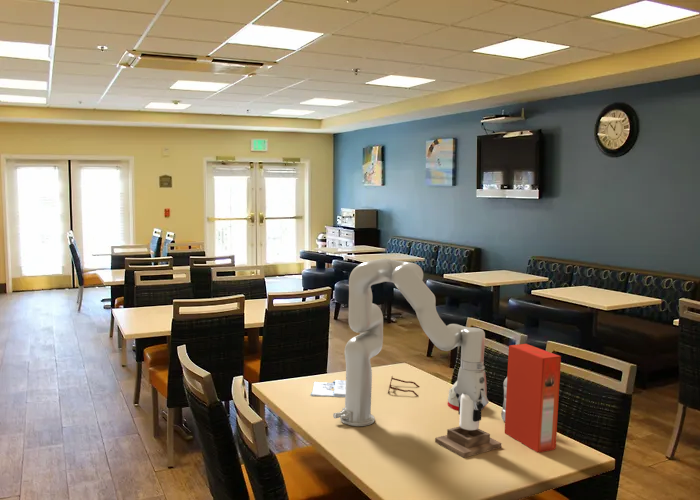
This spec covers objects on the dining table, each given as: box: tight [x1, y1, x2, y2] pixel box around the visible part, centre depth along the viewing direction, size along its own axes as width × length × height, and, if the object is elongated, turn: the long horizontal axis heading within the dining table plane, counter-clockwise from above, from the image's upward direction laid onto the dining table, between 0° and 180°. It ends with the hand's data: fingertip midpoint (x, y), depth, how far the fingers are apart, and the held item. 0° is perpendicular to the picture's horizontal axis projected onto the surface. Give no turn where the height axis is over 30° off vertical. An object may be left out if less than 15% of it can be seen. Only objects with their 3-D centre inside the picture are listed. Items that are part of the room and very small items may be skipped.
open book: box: [310, 379, 346, 398], centre depth 261 cm, size 19×20×2 cm
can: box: [458, 392, 480, 431], centre depth 206 cm, size 6×6×12 cm
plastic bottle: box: [501, 376, 507, 422], centre depth 229 cm, size 6×7×20 cm
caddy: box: [434, 426, 502, 458], centre depth 207 cm, size 17×14×4 cm
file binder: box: [504, 343, 562, 453], centre depth 211 cm, size 8×17×32 cm, turn 23°
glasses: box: [387, 375, 420, 397], centre depth 262 cm, size 13×13×5 cm
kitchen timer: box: [447, 380, 459, 412], centre depth 245 cm, size 14×14×15 cm
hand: (469, 416), depth 206 cm, fingers closed on can, 6 cm apart
